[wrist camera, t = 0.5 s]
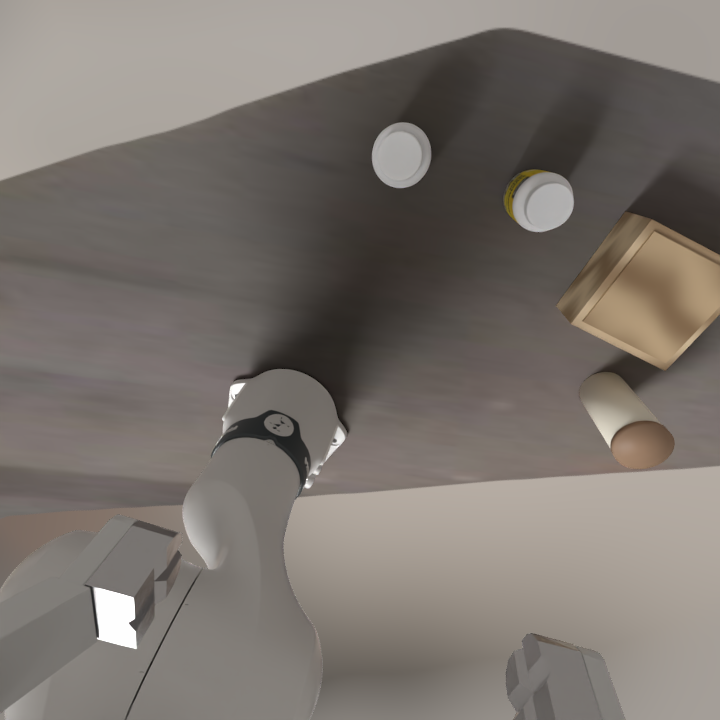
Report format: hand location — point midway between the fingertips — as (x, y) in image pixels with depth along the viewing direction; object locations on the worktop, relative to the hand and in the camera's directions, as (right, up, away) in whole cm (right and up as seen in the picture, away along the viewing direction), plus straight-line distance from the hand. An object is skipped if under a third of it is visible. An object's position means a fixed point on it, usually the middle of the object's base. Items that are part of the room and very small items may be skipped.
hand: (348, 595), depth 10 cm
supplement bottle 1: (+5, +28, +36) cm, 46 cm away
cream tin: (+32, +1, +45) cm, 55 cm away
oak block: (+32, +14, +39) cm, 52 cm away
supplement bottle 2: (+19, +24, +36) cm, 47 cm away
